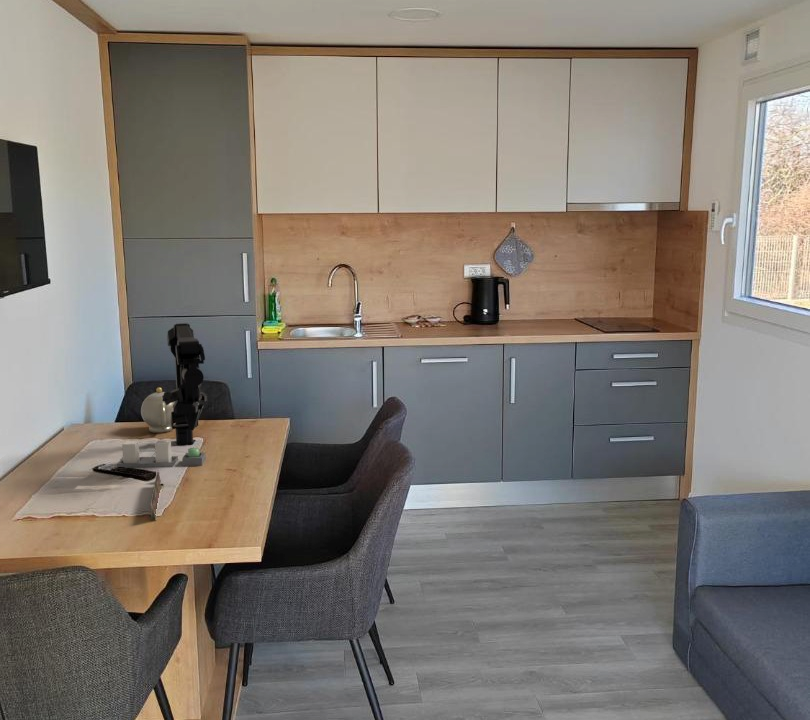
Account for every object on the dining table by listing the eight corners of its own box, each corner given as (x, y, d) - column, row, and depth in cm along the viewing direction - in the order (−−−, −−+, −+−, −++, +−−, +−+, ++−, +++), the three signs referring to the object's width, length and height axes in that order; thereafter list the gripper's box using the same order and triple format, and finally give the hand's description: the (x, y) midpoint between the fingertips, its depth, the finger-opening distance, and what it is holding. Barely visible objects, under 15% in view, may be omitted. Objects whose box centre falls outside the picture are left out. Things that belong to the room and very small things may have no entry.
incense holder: (156, 521, 207) (155, 502, 206) (151, 522, 207) (150, 502, 206) (163, 485, 236) (162, 467, 235) (159, 485, 236) (157, 468, 235)
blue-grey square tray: (129, 453, 267) (129, 450, 267) (159, 453, 268) (159, 449, 267) (120, 462, 257) (120, 459, 257) (152, 462, 258) (151, 458, 258)
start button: (189, 457, 255) (189, 447, 254) (200, 457, 255) (200, 447, 254) (187, 460, 252) (187, 450, 251) (198, 460, 252) (198, 450, 251)
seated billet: (159, 461, 255) (157, 440, 254) (171, 461, 255) (170, 440, 254) (155, 465, 251) (154, 443, 250) (168, 465, 251) (167, 443, 250)
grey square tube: (186, 463, 256) (186, 452, 256) (205, 462, 257) (205, 452, 256) (182, 469, 251) (182, 458, 250) (202, 468, 251) (201, 457, 250)
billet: (139, 462, 255) (138, 440, 253) (136, 465, 251) (135, 444, 249) (127, 462, 254) (125, 440, 253) (123, 466, 250) (122, 444, 249)
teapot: (140, 427, 301) (137, 385, 298) (177, 424, 306) (175, 382, 304) (145, 439, 285) (142, 394, 282) (184, 435, 290) (182, 391, 287)
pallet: (124, 463, 256) (123, 456, 256) (178, 462, 257) (178, 455, 257) (116, 471, 248) (116, 464, 248) (172, 470, 249) (172, 463, 249)
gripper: (170, 375, 258) (173, 422, 260) (156, 387, 239) (159, 437, 242) (205, 374, 258) (208, 421, 261) (194, 386, 240) (196, 436, 243)
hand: (192, 429), depth 252 cm, fingers closed
